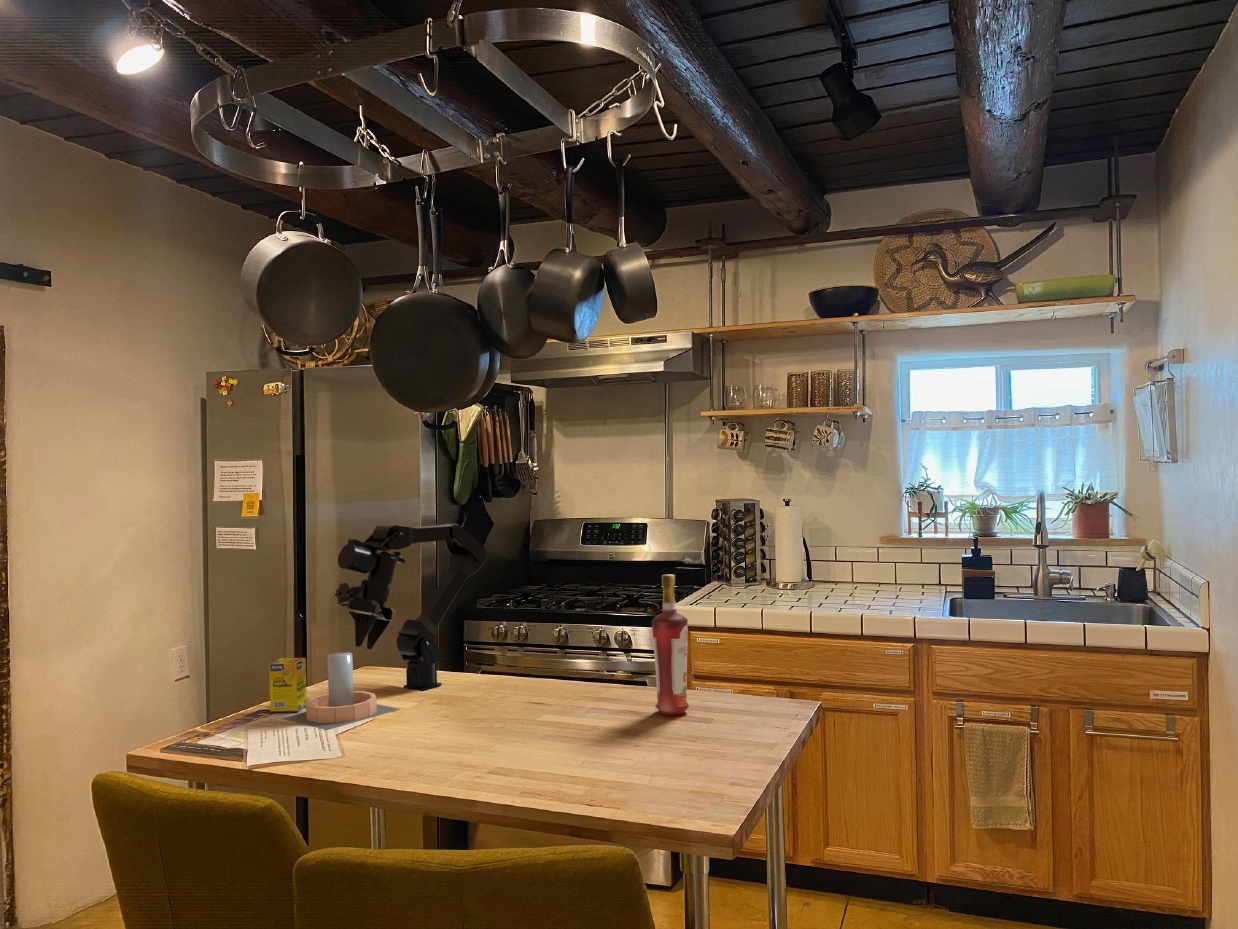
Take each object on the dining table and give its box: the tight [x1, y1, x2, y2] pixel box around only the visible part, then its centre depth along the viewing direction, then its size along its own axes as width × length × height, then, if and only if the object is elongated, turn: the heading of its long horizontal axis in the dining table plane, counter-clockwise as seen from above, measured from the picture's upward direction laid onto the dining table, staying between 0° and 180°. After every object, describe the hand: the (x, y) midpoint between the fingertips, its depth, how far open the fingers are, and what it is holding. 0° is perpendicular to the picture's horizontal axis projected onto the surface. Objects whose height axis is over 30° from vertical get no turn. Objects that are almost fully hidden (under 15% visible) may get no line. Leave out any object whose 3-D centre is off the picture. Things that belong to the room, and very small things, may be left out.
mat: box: [280, 703, 401, 731], centre depth 190 cm, size 18×16×1 cm
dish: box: [304, 690, 378, 723], centre depth 190 cm, size 14×14×3 cm
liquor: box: [651, 574, 690, 717], centre depth 185 cm, size 7×7×28 cm
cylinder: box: [327, 651, 354, 707], centre depth 191 cm, size 5×5×12 cm
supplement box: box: [268, 657, 308, 715], centre depth 195 cm, size 6×6×11 cm
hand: (363, 648), depth 201 cm, fingers open, 9 cm apart
